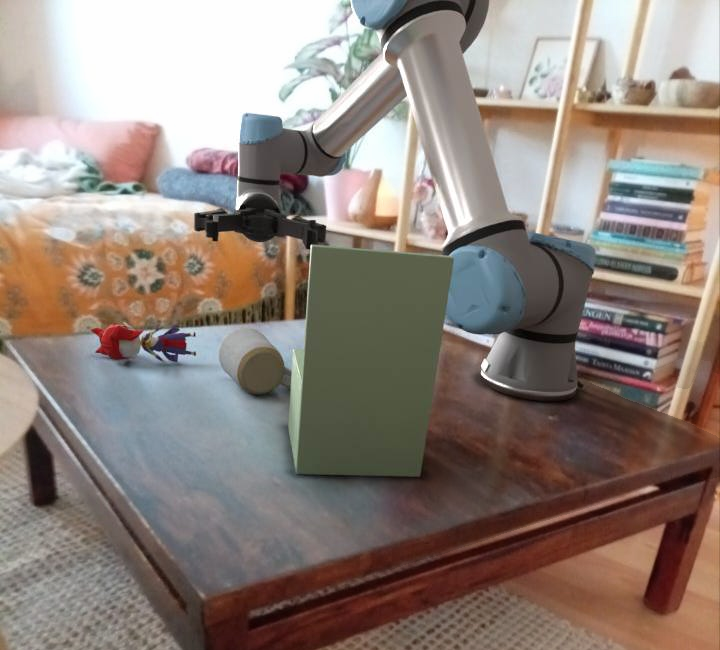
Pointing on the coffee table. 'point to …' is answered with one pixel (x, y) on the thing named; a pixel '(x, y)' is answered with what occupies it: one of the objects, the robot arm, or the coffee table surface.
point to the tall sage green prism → (367, 361)
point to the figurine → (141, 342)
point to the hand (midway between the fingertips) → (262, 235)
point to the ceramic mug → (253, 361)
